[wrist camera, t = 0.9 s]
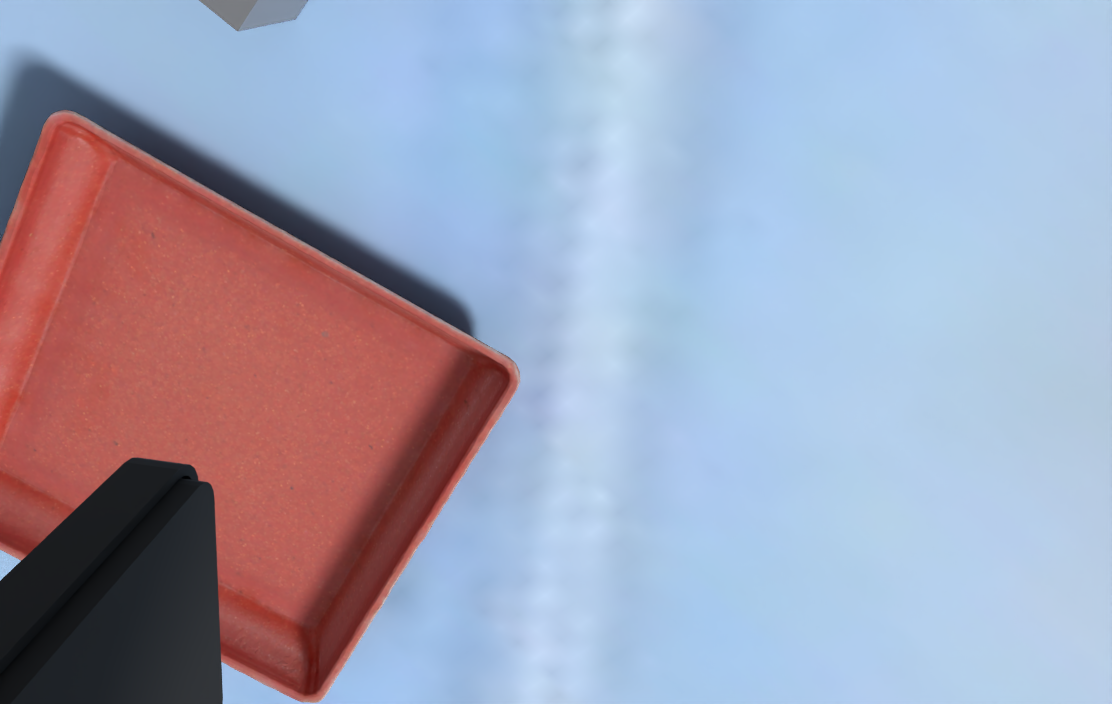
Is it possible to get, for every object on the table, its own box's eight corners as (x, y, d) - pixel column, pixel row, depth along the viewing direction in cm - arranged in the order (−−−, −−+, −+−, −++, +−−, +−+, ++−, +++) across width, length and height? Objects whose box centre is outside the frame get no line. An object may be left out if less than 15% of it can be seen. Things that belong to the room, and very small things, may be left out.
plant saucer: (540, 338, 38) (529, 372, 35) (338, 663, 45) (315, 715, 42) (101, 85, 36) (49, 98, 33) (-41, 463, 43) (-96, 503, 40)
